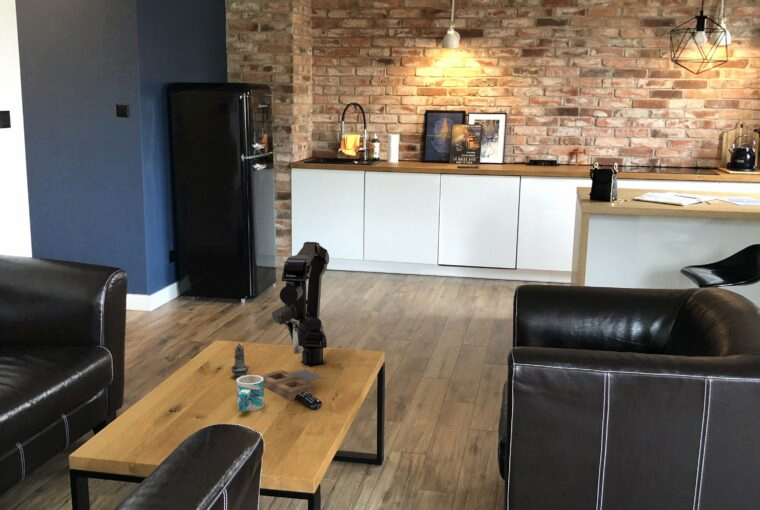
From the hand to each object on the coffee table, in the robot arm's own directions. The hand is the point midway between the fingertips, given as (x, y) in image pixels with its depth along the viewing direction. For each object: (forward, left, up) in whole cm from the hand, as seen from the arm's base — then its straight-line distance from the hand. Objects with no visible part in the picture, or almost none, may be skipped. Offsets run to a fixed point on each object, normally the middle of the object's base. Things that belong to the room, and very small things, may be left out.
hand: (297, 344), depth 258 cm
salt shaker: (+12, -16, -13) cm, 24 cm away
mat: (-4, -4, -13) cm, 14 cm away
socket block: (+6, +2, -13) cm, 14 cm away
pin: (0, 0, -3) cm, 2 cm away
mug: (+23, +8, -13) cm, 28 cm away
